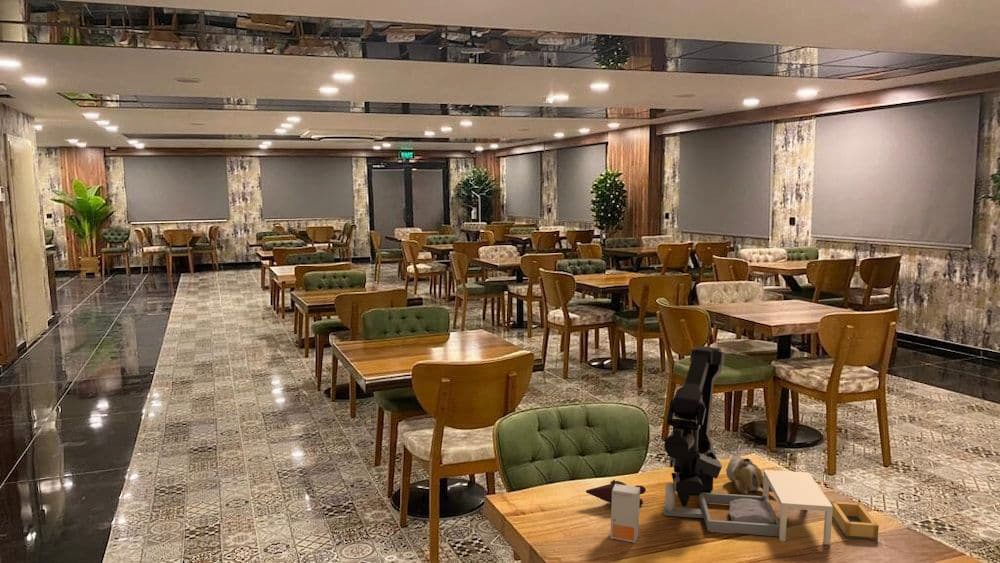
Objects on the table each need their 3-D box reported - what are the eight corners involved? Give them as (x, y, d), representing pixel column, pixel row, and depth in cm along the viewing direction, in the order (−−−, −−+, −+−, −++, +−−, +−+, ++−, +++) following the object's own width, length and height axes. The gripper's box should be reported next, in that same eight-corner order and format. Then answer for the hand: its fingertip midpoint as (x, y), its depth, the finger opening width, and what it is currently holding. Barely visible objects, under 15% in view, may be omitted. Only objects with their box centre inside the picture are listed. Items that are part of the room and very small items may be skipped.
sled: (665, 528, 170) (666, 498, 169) (661, 498, 186) (662, 471, 185) (781, 536, 166) (782, 506, 165) (766, 505, 182) (767, 478, 181)
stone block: (735, 537, 170) (778, 532, 168) (732, 518, 169) (775, 513, 168) (727, 517, 181) (767, 512, 180) (723, 499, 181) (764, 493, 179)
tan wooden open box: (845, 538, 166) (846, 523, 165) (830, 515, 177) (831, 501, 177) (877, 540, 165) (878, 525, 164) (860, 517, 176) (860, 503, 176)
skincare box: (609, 539, 165) (611, 490, 163) (613, 531, 169) (614, 483, 167) (636, 543, 163) (637, 493, 161) (639, 535, 167) (640, 486, 165)
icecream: (589, 489, 177) (649, 494, 177) (586, 470, 184) (644, 476, 184) (585, 511, 180) (644, 517, 180) (582, 492, 187) (639, 498, 187)
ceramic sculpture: (752, 446, 200) (782, 470, 186) (749, 475, 202) (779, 500, 188) (717, 449, 199) (744, 473, 184) (715, 478, 200) (742, 504, 186)
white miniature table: (779, 540, 164) (782, 503, 163) (762, 503, 184) (763, 469, 183) (830, 544, 162) (832, 506, 161) (806, 506, 182) (808, 472, 181)
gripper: (726, 461, 165) (723, 525, 167) (714, 434, 183) (711, 492, 185) (676, 458, 166) (675, 521, 168) (669, 432, 185) (668, 489, 186)
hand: (684, 505), depth 177 cm, fingers closed, pressing on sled
